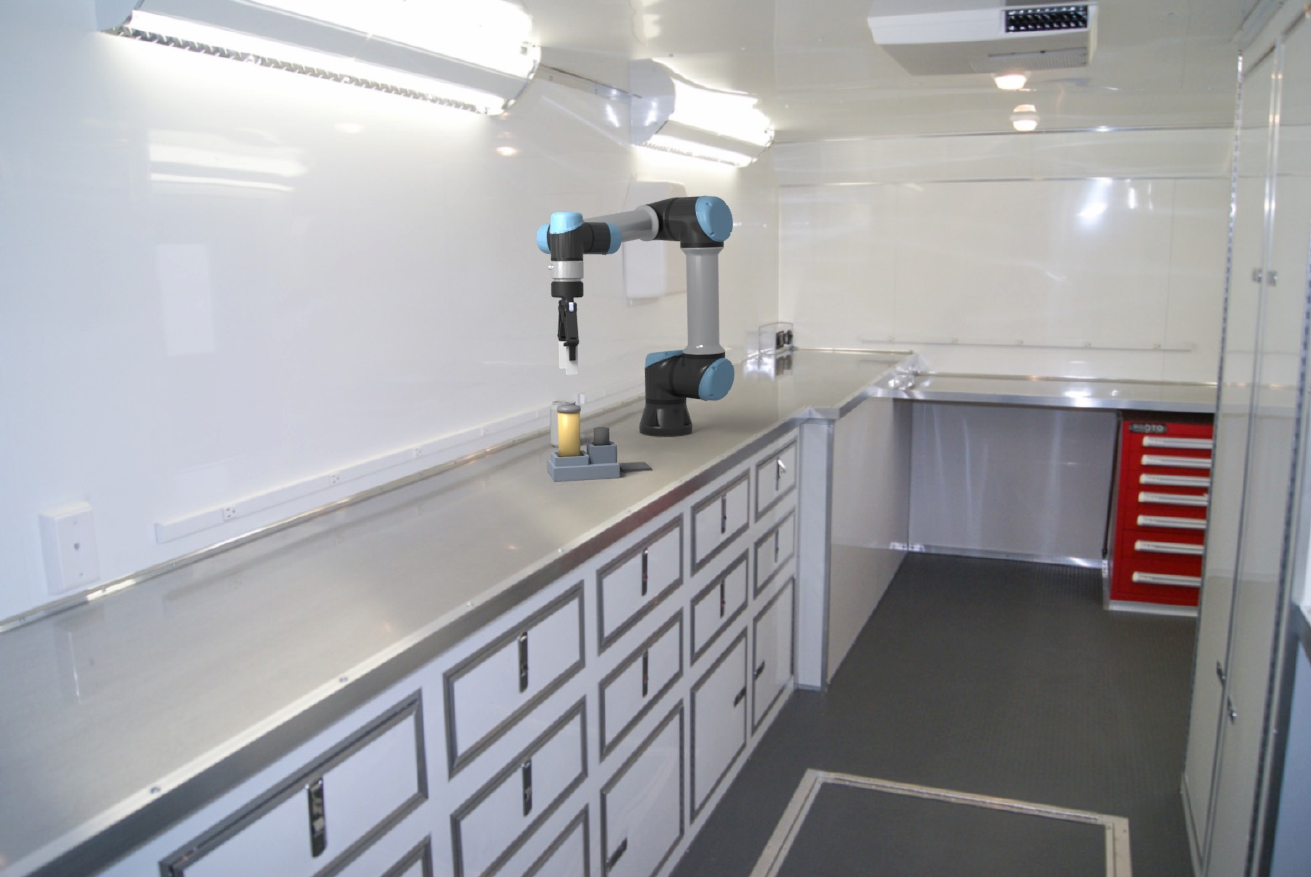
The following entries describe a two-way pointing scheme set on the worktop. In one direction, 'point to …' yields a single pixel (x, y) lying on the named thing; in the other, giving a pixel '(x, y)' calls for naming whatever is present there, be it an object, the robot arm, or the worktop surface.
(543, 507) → the worktop surface
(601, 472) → the housing
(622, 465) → the mat
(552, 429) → the can
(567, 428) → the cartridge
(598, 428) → the plunger
